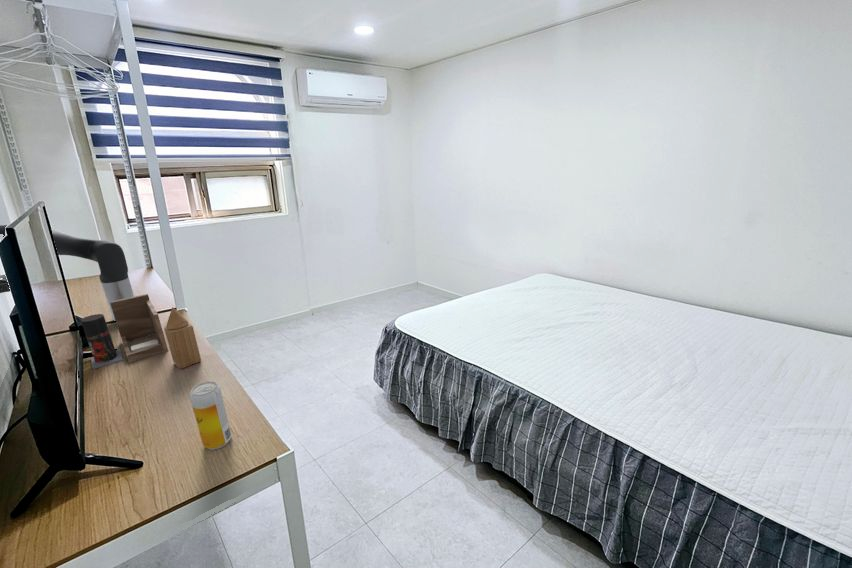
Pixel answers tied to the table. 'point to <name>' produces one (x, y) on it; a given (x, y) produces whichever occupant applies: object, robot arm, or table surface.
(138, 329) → the box
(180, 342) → the decorative item
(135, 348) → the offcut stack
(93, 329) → the deodorant
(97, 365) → the mat
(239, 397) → the table surface
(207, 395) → the beer can
